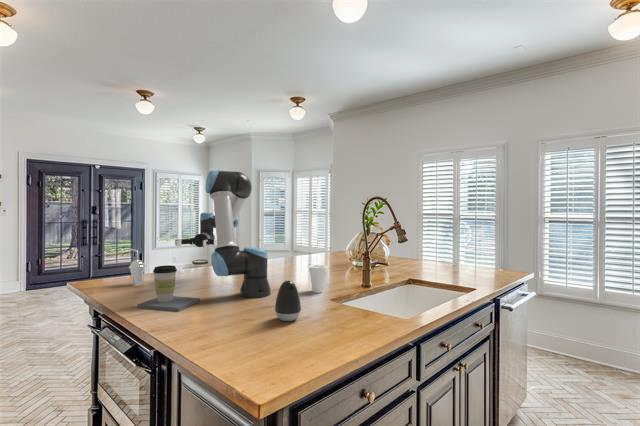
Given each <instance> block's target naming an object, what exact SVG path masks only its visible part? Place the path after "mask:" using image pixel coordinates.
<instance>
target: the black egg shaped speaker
mask: <svg viewBox="0 0 640 426" xmlns="http://www.w3.org/2000/svg"><path fill="white" fill-rule="evenodd" d="M301 311H302V306H301V298H300V294H299V291H298V288H297V286H296V284H295V283H294V282H293V281H292V280H285V281H283V282H282V283H281V285H280V287H279V289H278V292H277V295H276V298H275V303H274V312H275V315H276V317H277V318H278V319H279V320H280V321H282V322H283V321H284V322H292V321H295V320H297V319H298V318H299V316H300V314H301Z"/></svg>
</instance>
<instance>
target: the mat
mask: <svg viewBox="0 0 640 426" xmlns="http://www.w3.org/2000/svg"><path fill="white" fill-rule="evenodd" d="M200 302H201V298H200V297H189V296H188V297H187V296H176V295H175V296H174V295H173V300H172V301H169V302H158V301H157V296H156V297H153V298H151V299H149V300H145V301H143V302H141V303H138V304H137V308H138V309H145V310H146V309H147V310H156V311H170V312H180V311H183V310H185V309H187V308H190V307H191V306H193V305H195V304H198V303H200Z"/></svg>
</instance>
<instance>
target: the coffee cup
mask: <svg viewBox="0 0 640 426" xmlns="http://www.w3.org/2000/svg"><path fill="white" fill-rule="evenodd" d="M177 271H178V269H177V268H176V266H175V265H167V264H165V265H158V266H155V267H154V268H153V271H152V273H153V275H154V278H153V279H154V285H155V286H154V287H155V293H156V297H157V301H158V302H169V301H172V300H173V296H174V293H175V285H176V272H177Z"/></svg>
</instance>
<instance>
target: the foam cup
mask: <svg viewBox="0 0 640 426" xmlns="http://www.w3.org/2000/svg"><path fill="white" fill-rule="evenodd" d="M308 269H309V275H310V276H309V277H310V283H311V284H310V285H311V292H312V293H315V294H316V293H317V294H321V293H324V292H325V289H326V281H327V275H328V271H329V269H328V265H324V264H312V265H309V267H308Z"/></svg>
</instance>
